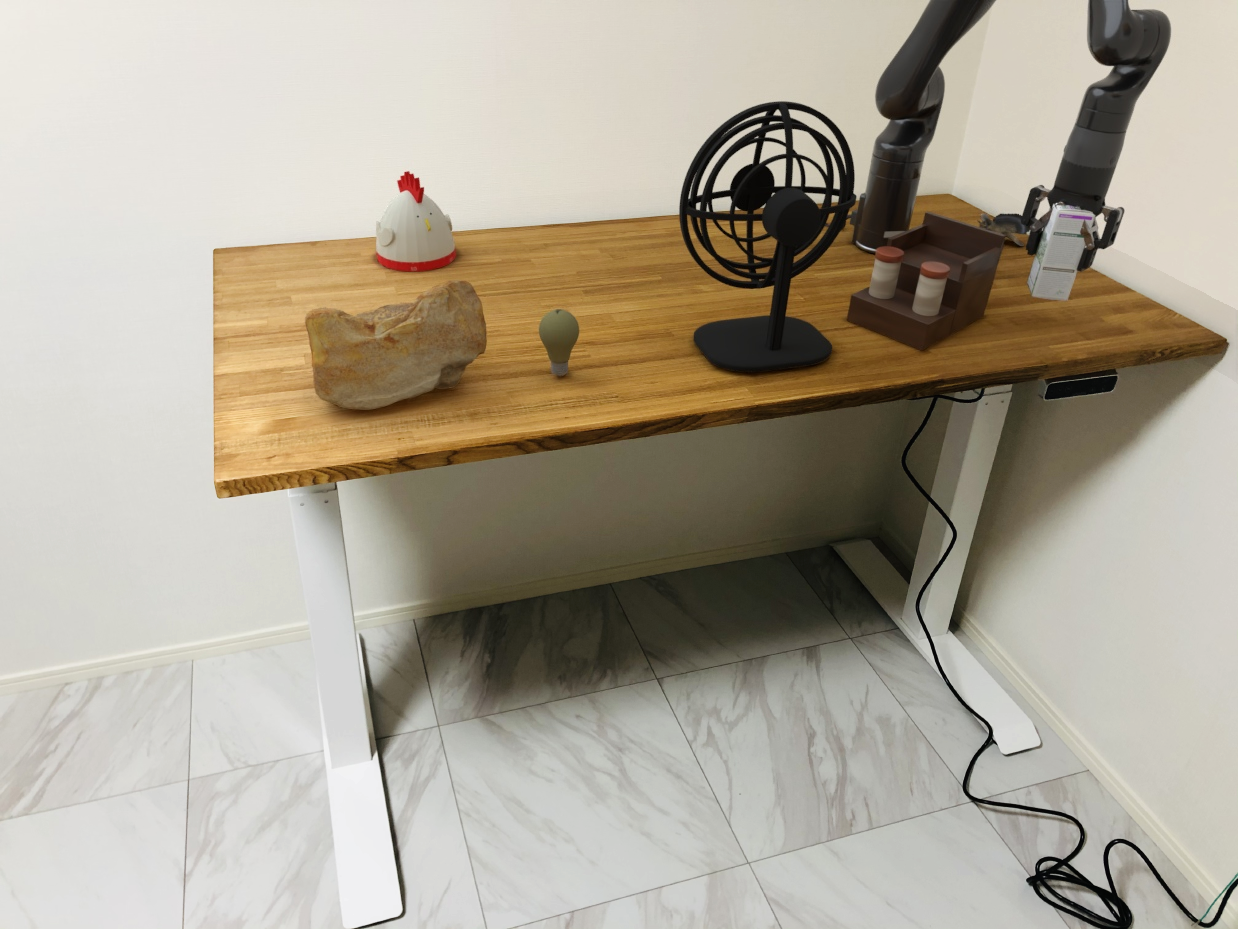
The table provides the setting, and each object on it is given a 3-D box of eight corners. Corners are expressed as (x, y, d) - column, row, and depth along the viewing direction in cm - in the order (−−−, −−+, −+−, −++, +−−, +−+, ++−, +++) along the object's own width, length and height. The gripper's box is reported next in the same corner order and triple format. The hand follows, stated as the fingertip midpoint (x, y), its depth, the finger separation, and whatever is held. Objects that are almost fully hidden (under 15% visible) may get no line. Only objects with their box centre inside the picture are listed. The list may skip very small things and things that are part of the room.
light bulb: (539, 366, 134) (538, 302, 129) (577, 365, 135) (578, 302, 129) (540, 385, 130) (538, 320, 124) (579, 384, 130) (580, 319, 125)
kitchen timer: (400, 277, 159) (390, 190, 150) (363, 252, 168) (353, 168, 159) (470, 260, 166) (465, 176, 158) (431, 236, 175) (425, 156, 167)
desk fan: (813, 312, 153) (850, 88, 133) (867, 361, 139) (917, 119, 119) (658, 329, 146) (672, 95, 126) (698, 383, 132) (722, 129, 112)
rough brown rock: (471, 349, 140) (460, 252, 132) (498, 394, 126) (487, 288, 119) (312, 375, 133) (290, 275, 126) (322, 425, 120) (298, 316, 112)
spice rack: (922, 351, 142) (943, 264, 135) (846, 320, 151) (861, 237, 143) (983, 316, 154) (1006, 235, 146) (909, 289, 162) (927, 211, 154)
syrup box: (1068, 302, 147) (1099, 212, 139) (1029, 297, 148) (1058, 208, 140) (1062, 287, 152) (1091, 200, 143) (1024, 283, 153) (1051, 196, 144)
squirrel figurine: (983, 245, 177) (1033, 240, 176) (980, 208, 177) (1030, 202, 176) (974, 253, 185) (1022, 248, 183) (972, 218, 185) (1020, 212, 183)
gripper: (1149, 165, 136) (1110, 270, 145) (1055, 142, 144) (1024, 242, 153) (1128, 175, 131) (1089, 282, 141) (1032, 150, 140) (1002, 253, 149)
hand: (1056, 261), depth 147 cm, fingers closed on syrup box, 7 cm apart
